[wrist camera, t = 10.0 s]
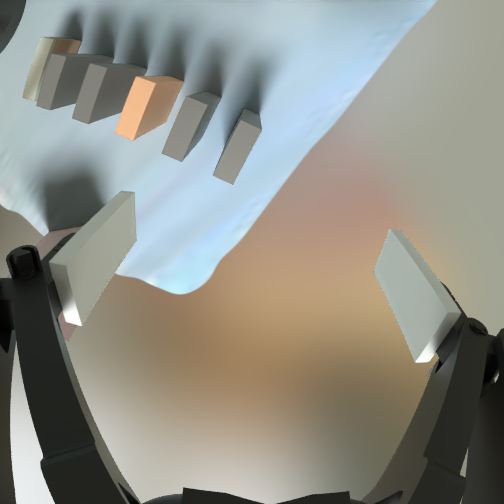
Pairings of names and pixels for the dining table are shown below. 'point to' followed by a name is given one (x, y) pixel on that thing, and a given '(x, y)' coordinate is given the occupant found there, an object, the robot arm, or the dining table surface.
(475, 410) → the robot arm
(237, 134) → the domino
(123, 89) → the domino
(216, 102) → the domino
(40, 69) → the block
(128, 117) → the orange rectangular block
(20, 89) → the dining table surface
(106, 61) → the domino
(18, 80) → the dining table surface
